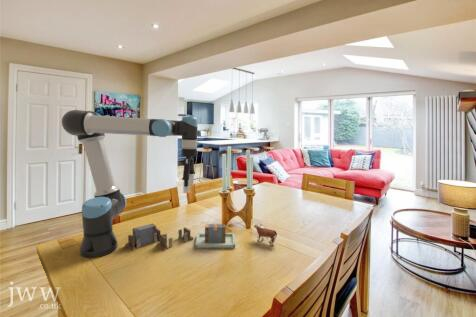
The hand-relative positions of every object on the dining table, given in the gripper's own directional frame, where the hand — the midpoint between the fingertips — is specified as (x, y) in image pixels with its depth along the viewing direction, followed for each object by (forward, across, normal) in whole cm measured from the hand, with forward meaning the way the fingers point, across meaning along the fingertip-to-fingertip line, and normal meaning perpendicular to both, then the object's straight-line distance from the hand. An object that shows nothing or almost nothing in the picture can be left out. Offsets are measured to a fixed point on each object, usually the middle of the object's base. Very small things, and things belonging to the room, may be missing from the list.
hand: (188, 189), depth 128 cm
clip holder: (+25, -7, +5) cm, 27 cm away
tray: (+25, -7, -15) cm, 30 cm away
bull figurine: (+24, -6, -40) cm, 47 cm away
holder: (+26, -8, +20) cm, 33 cm away
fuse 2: (+24, -7, -15) cm, 29 cm away
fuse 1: (+26, -8, +20) cm, 33 cm away
